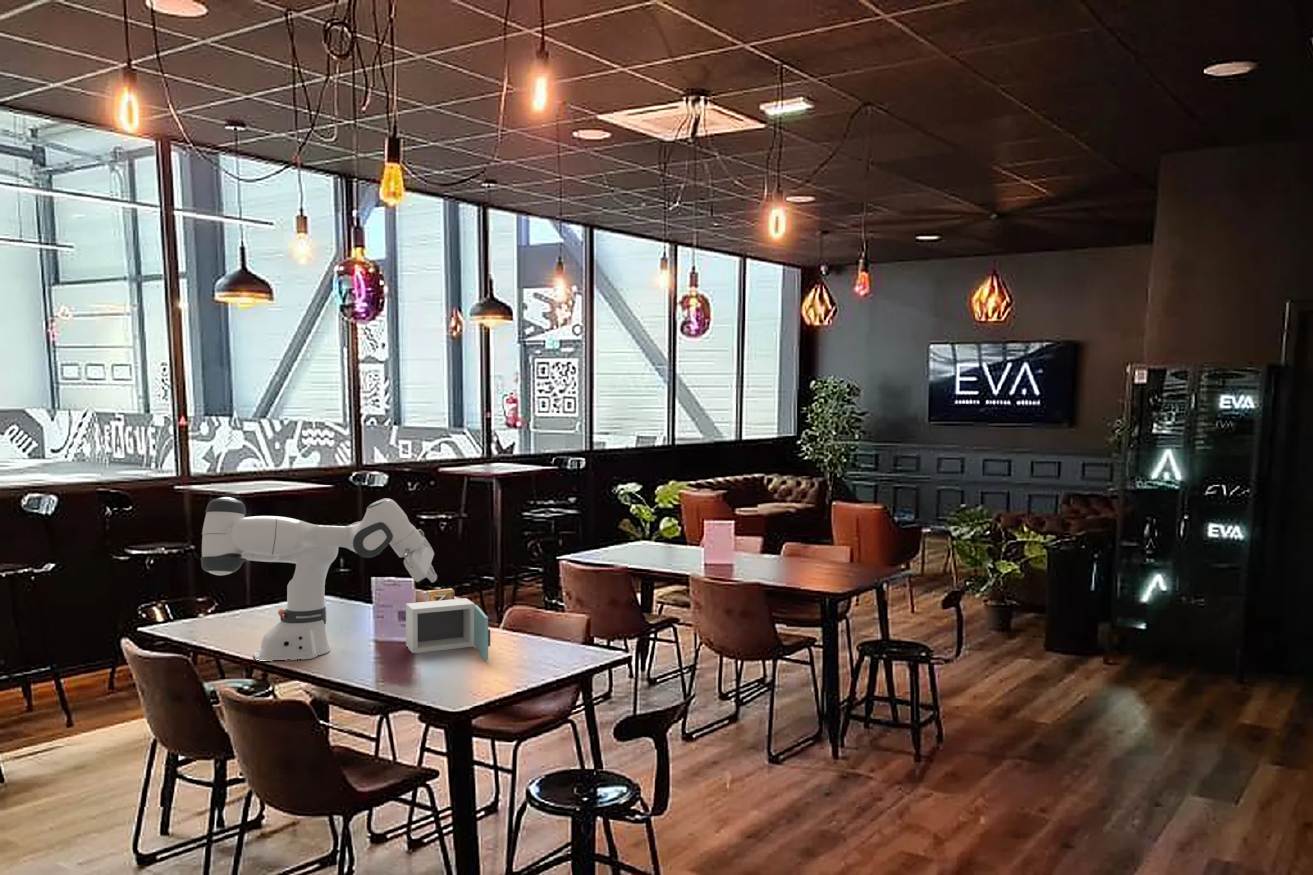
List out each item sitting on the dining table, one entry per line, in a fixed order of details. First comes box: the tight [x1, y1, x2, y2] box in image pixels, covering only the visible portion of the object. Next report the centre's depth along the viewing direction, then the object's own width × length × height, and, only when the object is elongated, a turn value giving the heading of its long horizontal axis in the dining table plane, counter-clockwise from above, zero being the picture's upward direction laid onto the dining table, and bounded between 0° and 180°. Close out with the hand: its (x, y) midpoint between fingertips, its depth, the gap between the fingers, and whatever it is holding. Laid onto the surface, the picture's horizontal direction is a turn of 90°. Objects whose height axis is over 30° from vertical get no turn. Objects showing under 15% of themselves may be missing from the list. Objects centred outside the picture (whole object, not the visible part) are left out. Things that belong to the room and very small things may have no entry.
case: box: [405, 597, 476, 654], centre depth 304 cm, size 20×10×14 cm, turn 117°
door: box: [473, 604, 491, 661], centre depth 294 cm, size 20×2×13 cm, turn 21°
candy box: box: [425, 588, 456, 602], centre depth 320 cm, size 9×4×15 cm, turn 121°
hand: (434, 579), depth 284 cm, fingers closed
